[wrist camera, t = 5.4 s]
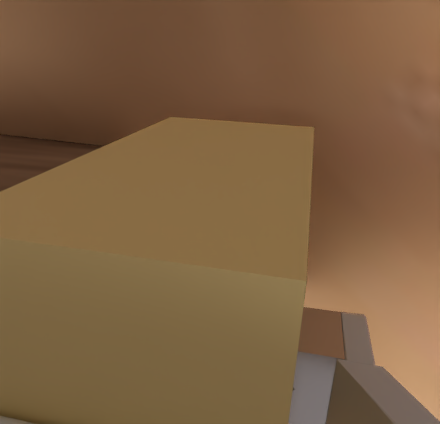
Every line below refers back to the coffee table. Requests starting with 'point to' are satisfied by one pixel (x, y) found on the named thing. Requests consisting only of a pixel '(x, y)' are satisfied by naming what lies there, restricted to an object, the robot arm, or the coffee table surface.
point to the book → (158, 278)
